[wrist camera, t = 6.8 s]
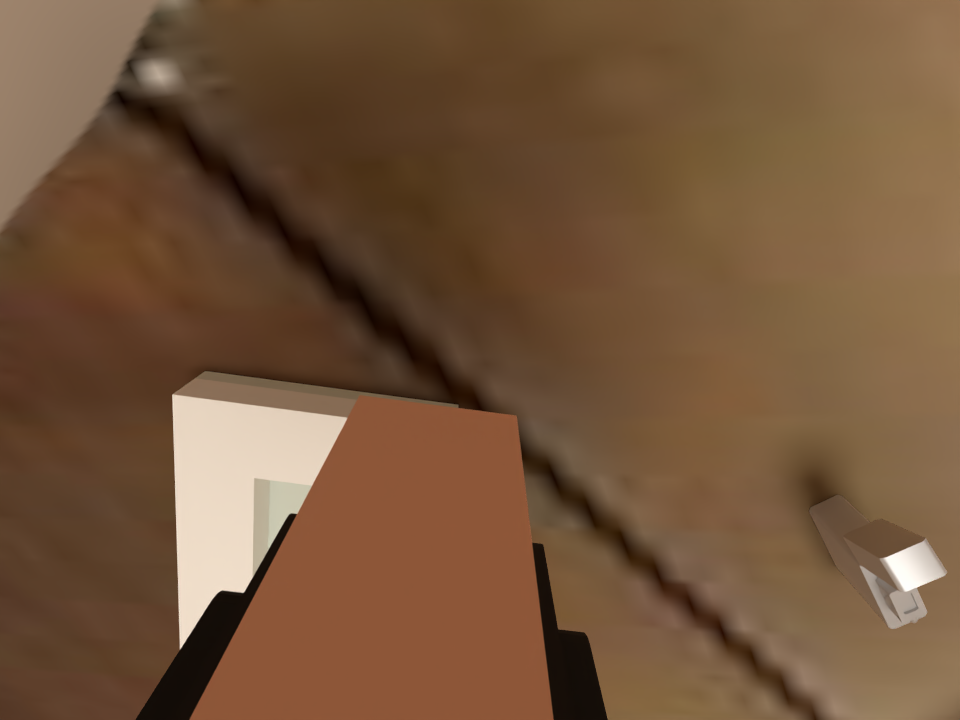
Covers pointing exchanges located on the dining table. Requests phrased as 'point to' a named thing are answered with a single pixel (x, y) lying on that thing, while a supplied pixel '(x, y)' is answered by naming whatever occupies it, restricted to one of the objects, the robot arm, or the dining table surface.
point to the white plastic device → (878, 560)
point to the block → (398, 582)
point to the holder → (244, 473)
